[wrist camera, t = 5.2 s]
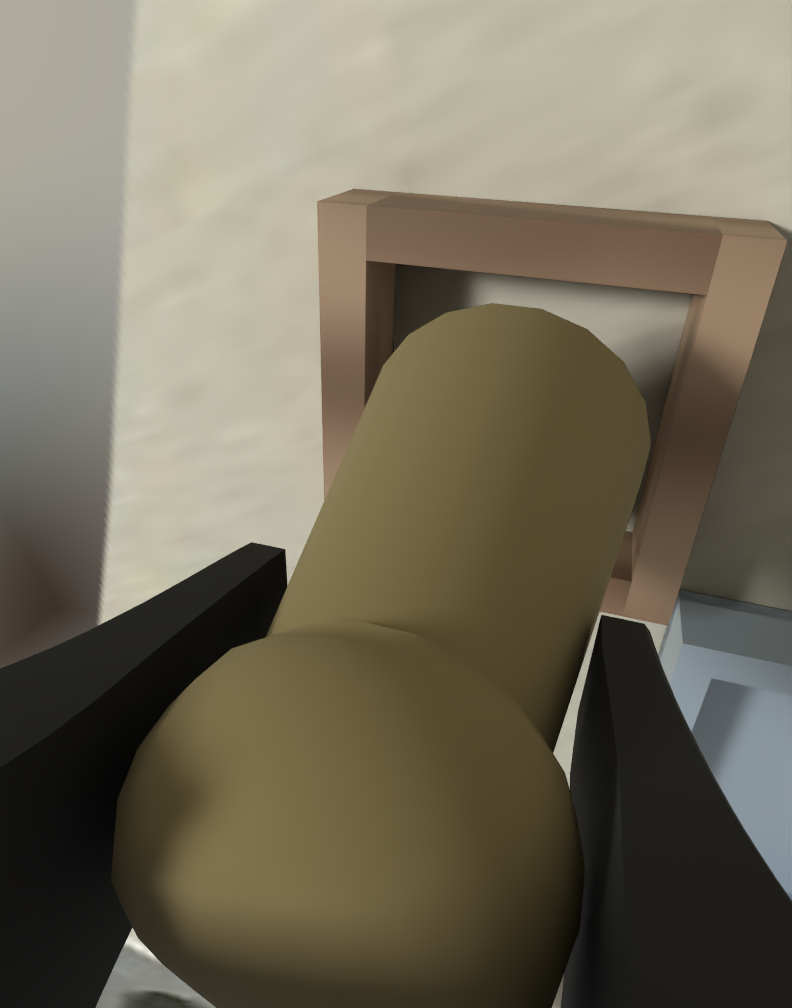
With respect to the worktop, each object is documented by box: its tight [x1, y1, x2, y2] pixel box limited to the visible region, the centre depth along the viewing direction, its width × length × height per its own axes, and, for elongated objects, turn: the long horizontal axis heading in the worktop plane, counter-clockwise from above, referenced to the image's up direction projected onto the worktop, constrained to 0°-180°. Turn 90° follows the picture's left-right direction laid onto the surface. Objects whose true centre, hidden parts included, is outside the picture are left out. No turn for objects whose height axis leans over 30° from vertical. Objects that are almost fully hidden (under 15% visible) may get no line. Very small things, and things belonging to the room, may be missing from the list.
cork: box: [111, 303, 651, 1008], centre depth 11 cm, size 6×6×11 cm
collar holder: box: [317, 189, 788, 625], centre depth 19 cm, size 10×10×2 cm
